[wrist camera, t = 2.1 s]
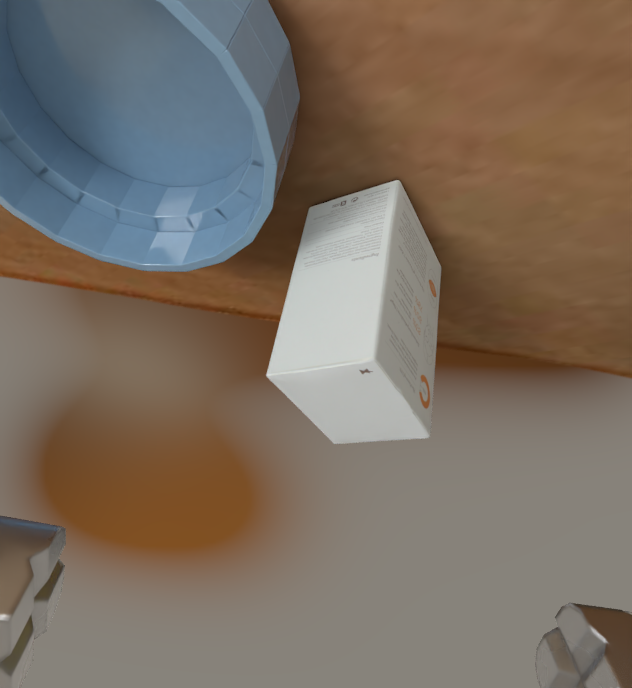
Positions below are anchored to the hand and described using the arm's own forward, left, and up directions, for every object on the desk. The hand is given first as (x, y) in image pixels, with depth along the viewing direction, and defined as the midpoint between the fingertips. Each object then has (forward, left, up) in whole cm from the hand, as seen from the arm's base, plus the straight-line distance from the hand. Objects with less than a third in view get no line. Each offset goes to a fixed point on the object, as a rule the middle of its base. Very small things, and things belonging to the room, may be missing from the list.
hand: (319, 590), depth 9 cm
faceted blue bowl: (+13, +9, -25) cm, 30 cm away
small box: (-2, +16, -26) cm, 30 cm away
